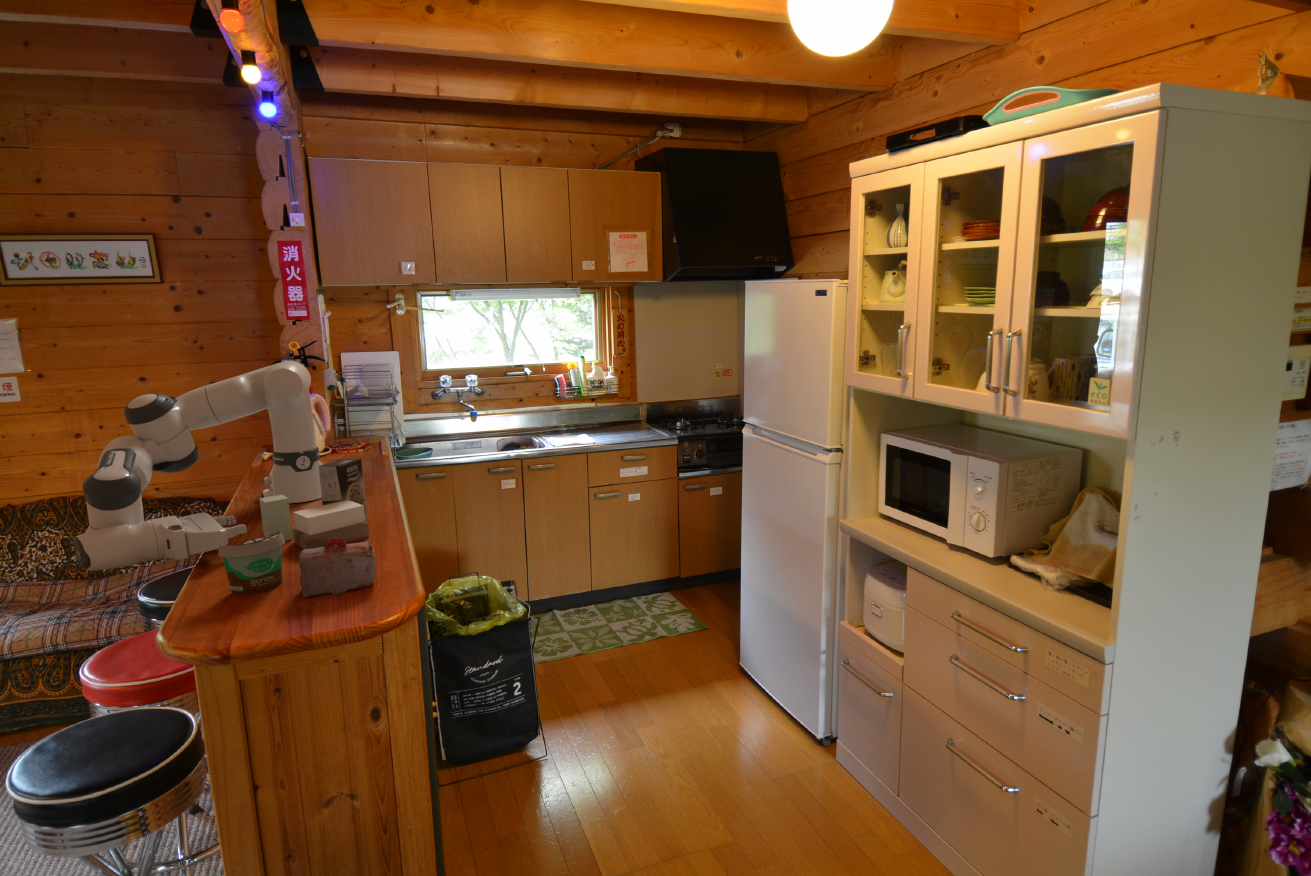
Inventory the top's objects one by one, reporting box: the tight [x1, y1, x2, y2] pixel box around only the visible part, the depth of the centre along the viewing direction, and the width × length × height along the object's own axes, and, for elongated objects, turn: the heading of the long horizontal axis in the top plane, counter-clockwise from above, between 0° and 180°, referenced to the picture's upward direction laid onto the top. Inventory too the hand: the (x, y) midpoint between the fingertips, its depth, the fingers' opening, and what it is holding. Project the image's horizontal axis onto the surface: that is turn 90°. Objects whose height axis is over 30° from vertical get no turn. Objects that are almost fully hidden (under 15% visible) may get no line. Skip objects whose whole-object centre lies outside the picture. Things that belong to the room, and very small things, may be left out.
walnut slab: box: [292, 521, 370, 550], centre depth 175 cm, size 9×14×4 cm, turn 132°
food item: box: [297, 539, 378, 599], centre depth 144 cm, size 14×8×10 cm, turn 116°
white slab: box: [293, 500, 366, 535], centre depth 175 cm, size 8×13×4 cm, turn 137°
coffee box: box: [319, 458, 368, 521], centre depth 186 cm, size 9×6×16 cm
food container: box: [217, 529, 286, 595], centre depth 145 cm, size 12×6×10 cm, turn 148°
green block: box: [258, 495, 294, 542], centre depth 176 cm, size 5×5×10 cm
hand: (240, 523), depth 171 cm, fingers open, 8 cm apart
